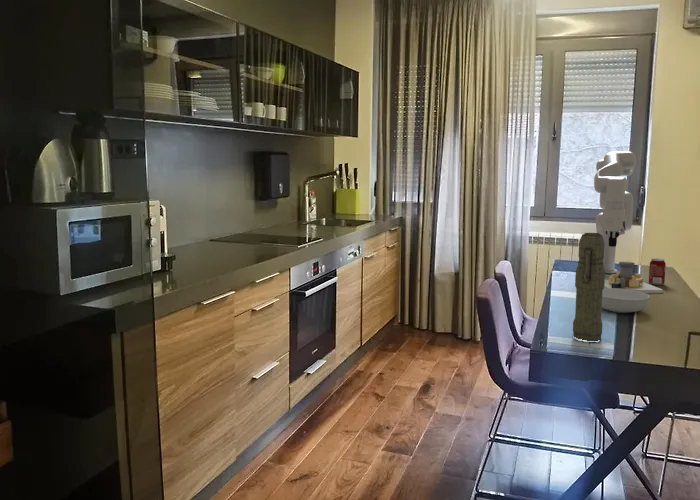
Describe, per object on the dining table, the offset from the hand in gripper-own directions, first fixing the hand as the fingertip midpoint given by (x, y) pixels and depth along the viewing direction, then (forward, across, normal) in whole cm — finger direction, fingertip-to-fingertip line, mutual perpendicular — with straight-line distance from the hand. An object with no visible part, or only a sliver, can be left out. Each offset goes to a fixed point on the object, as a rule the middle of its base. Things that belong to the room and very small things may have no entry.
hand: (612, 246), depth 266 cm
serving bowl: (+20, +26, -30) cm, 45 cm away
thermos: (+19, +45, -74) cm, 88 cm away
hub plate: (+20, +1, +10) cm, 22 cm away
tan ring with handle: (+18, +3, +5) cm, 19 cm away
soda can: (+21, +4, +29) cm, 36 cm away
